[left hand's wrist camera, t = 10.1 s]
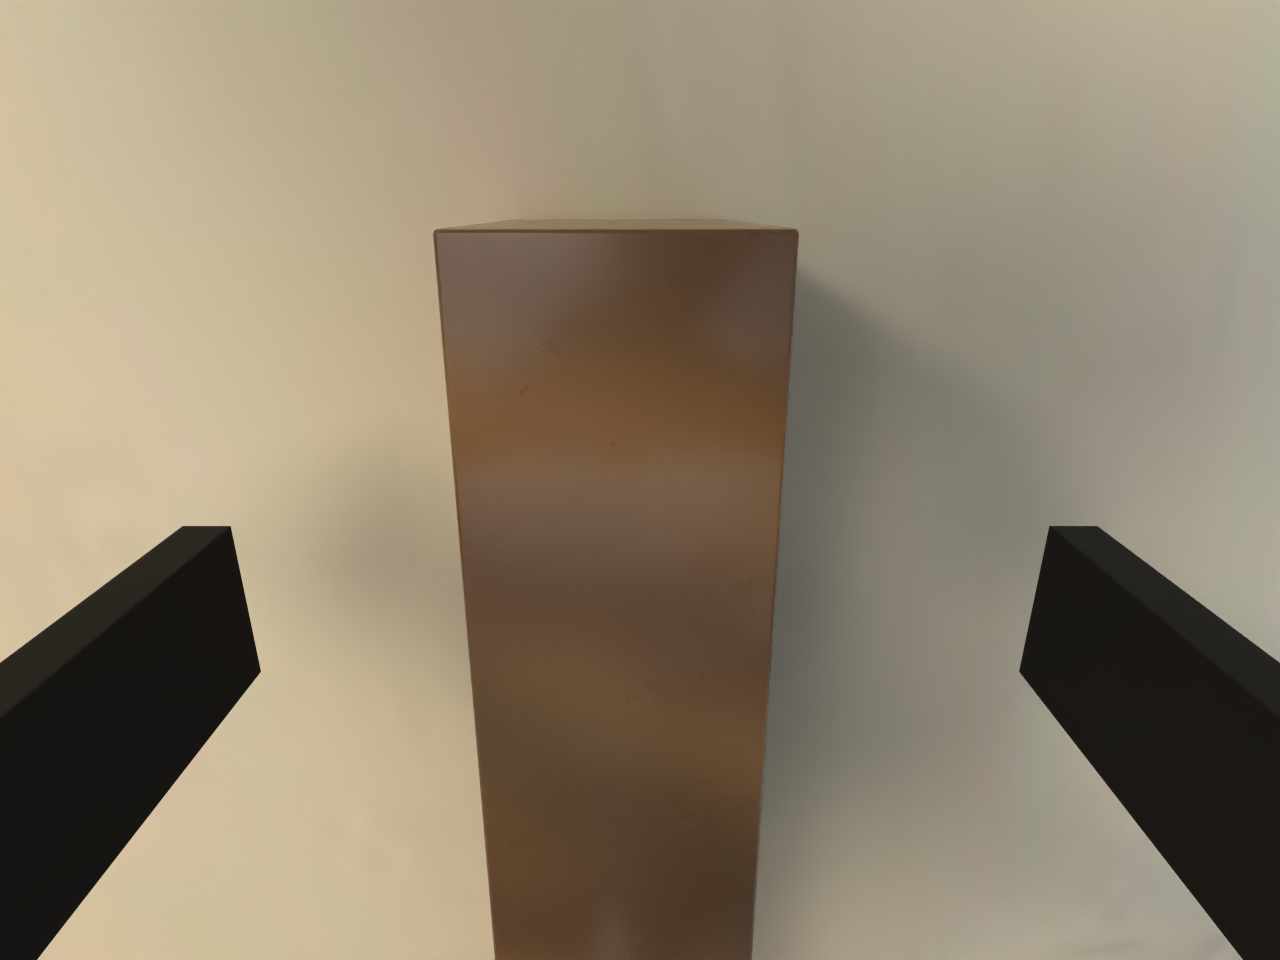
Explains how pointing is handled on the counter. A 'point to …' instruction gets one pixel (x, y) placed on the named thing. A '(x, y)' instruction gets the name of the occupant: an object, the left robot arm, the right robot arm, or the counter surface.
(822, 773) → the counter surface
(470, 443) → the bar
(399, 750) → the counter surface
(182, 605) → the left robot arm
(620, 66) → the counter surface
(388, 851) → the counter surface
